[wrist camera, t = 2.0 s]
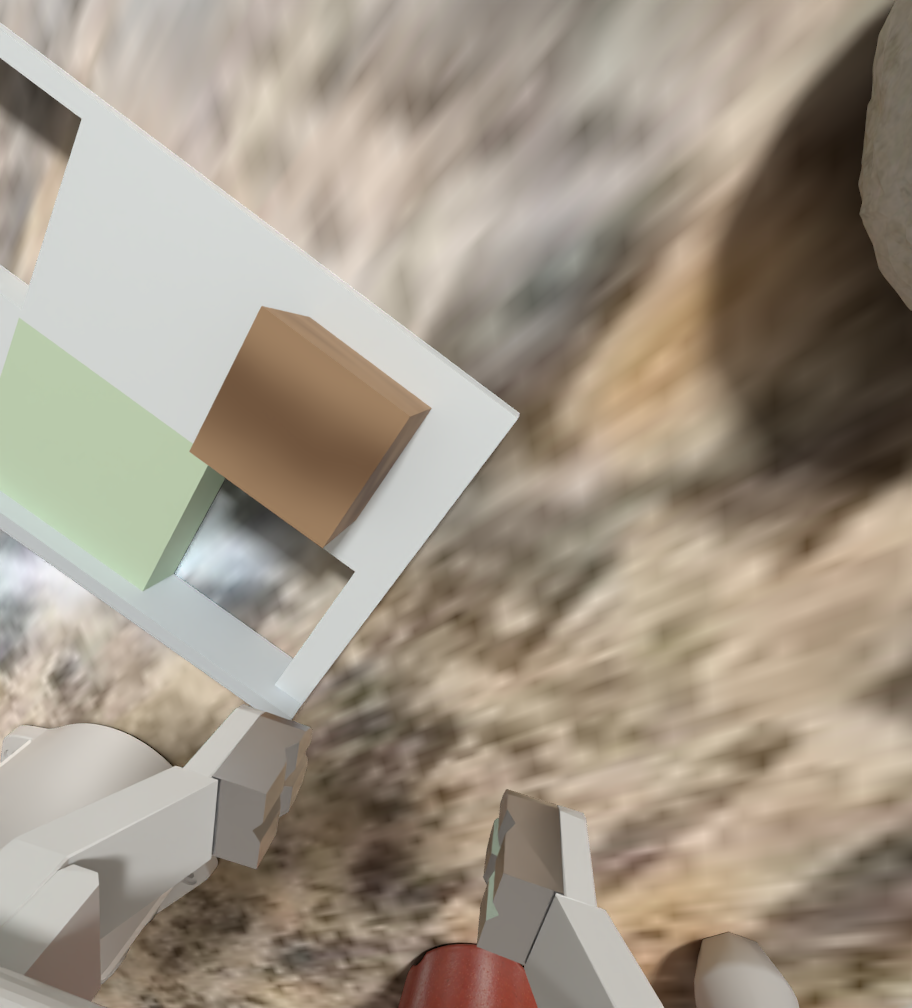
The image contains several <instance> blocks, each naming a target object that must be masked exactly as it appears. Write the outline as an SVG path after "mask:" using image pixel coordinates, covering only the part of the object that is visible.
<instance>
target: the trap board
mask: <svg viewBox="0 0 912 1008" xmlns="http://www.w3.org/2000/svg"><path fill="white" fill-rule="evenodd" d="M0 58H1V59H2V60H4V61H5V62H6V63H8V64H9V65H10V66H12V67H13V68H14V69H16V70H17V71H18V72H20V73H21V74H22V75H24V76H25V77H26V78H28V79H29V80H30V81H32V82H33V83H34V84H36V85H37V86H38V87H40V88H41V89H42V90H44V91H45V92H46V93H48V94H49V95H50V96H52V97H53V98H54V99H56V100H57V101H58V102H60V103H61V104H62V105H64V106H65V107H66V108H68V109H69V110H70V111H72V112H73V113H74V114H76V115H77V116H78V117H80V118H81V119H82V120H81V123H80V126H79V129H78V132H77V135H76V139H75V142H74V145H73V148H72V151H71V154H70V158H69V161H68V164H67V167H66V170H65V173H64V177H63V180H62V183H61V186H60V189H59V192H58V196H57V199H56V202H55V205H54V208H53V212H52V215H51V218H50V221H49V224H48V227H47V231H46V234H45V237H44V240H43V243H42V246H41V250H40V253H39V256H38V259H37V262H36V265H35V269H34V272H33V275H32V278H31V281H30V284H29V285H28V284H26V283H25V282H23V281H22V280H21V279H19V278H18V277H17V276H15V275H14V274H12V273H11V272H10V271H8V270H7V269H6V268H4V267H3V266H1V265H0V529H1V530H2V531H4V532H5V533H7V534H8V535H10V536H11V537H12V538H14V539H15V540H17V541H18V542H19V543H21V544H22V545H24V546H25V547H27V548H28V549H29V550H31V551H32V552H34V553H35V554H36V555H38V556H39V557H41V558H42V559H44V560H45V561H46V562H48V563H49V564H51V565H52V566H54V567H55V568H56V569H58V570H59V571H61V572H62V573H63V574H65V575H66V576H68V577H69V578H71V579H72V580H73V581H75V582H76V583H78V584H79V585H80V586H82V587H83V588H85V589H86V590H88V591H89V592H90V593H92V594H93V595H95V596H96V597H97V598H99V599H100V600H102V601H103V602H105V603H106V604H107V605H109V606H110V607H112V608H113V609H115V610H116V611H117V612H119V613H120V614H122V615H123V616H124V617H126V618H127V619H129V620H130V621H132V622H133V623H134V624H136V625H137V626H139V627H140V628H141V629H143V630H144V631H146V632H147V633H149V634H150V635H151V636H153V637H154V638H156V639H157V640H159V641H160V642H161V643H163V644H164V645H166V646H167V647H168V648H170V649H171V650H173V651H174V652H176V653H177V654H178V655H180V656H181V657H183V658H184V659H185V660H187V661H188V662H190V663H191V664H193V665H194V666H195V667H197V668H198V669H200V670H201V671H203V672H204V673H205V674H207V675H208V676H210V677H211V678H212V679H214V680H215V681H217V682H218V683H220V684H221V685H222V686H224V687H225V688H227V689H228V690H229V691H231V692H232V693H234V694H235V695H237V696H238V697H239V698H241V699H242V700H244V701H245V702H246V703H248V704H249V705H251V706H252V707H254V708H256V709H258V710H261V711H264V712H268V713H271V714H274V715H277V716H280V717H283V718H285V719H288V720H291V719H292V718H293V717H294V715H295V714H296V712H297V711H298V709H299V708H300V707H301V705H302V704H303V702H304V701H305V700H306V698H307V697H308V696H309V694H310V693H311V692H312V690H313V689H314V688H315V687H316V685H317V684H318V683H319V681H320V680H321V679H322V677H323V676H324V675H325V673H326V672H327V671H328V669H329V668H330V667H331V665H332V664H333V663H334V661H335V660H336V659H337V657H338V656H339V655H340V653H341V652H342V651H343V649H344V648H345V647H346V645H347V644H348V643H349V642H350V640H351V639H352V638H353V636H354V635H355V634H356V632H357V631H358V630H359V628H360V627H361V626H362V624H363V623H364V622H365V620H366V619H367V618H368V616H369V615H370V614H371V612H372V611H373V610H374V608H375V607H376V606H377V604H378V603H379V602H380V601H381V599H382V598H383V597H384V595H385V594H386V593H387V591H388V590H389V589H390V587H391V586H392V585H393V583H394V582H395V581H396V579H397V578H398V577H399V575H400V574H401V573H402V571H403V570H404V569H405V567H406V566H407V565H408V563H409V562H410V561H411V559H412V558H413V557H414V556H415V554H416V553H417V552H418V550H419V549H420V548H421V546H422V545H423V544H424V542H425V541H426V540H427V538H428V537H429V536H430V534H431V533H432V532H433V530H434V529H435V528H436V526H437V525H438V524H439V522H440V521H441V520H442V518H443V517H444V516H445V515H446V513H447V512H448V511H449V509H450V508H451V507H452V505H453V504H454V503H455V501H456V500H457V499H458V497H459V496H460V495H461V493H462V492H463V491H464V489H465V488H466V487H467V485H468V484H469V483H470V481H471V480H472V479H473V477H474V476H475V475H476V473H477V472H478V471H479V470H480V468H481V467H482V466H483V464H484V463H485V462H486V460H487V459H488V458H489V456H490V455H491V454H492V452H493V451H494V450H495V448H496V447H497V446H498V444H499V443H500V442H501V440H502V439H503V438H504V436H505V435H506V434H507V432H508V431H509V430H510V429H511V427H512V426H513V425H514V423H515V422H516V421H517V419H518V417H519V414H520V413H519V412H517V411H516V410H515V409H513V408H512V407H511V406H509V405H508V404H507V403H505V402H504V401H503V400H501V399H500V398H499V397H497V396H496V395H495V394H493V393H492V392H491V391H489V390H488V389H487V388H485V387H484V386H483V385H481V384H480V383H479V382H477V381H476V380H475V379H473V378H472V377H471V376H469V375H468V374H467V373H465V372H464V371H463V370H461V369H460V368H459V367H457V366H456V365H455V364H453V363H452V362H451V361H449V360H448V359H447V358H445V357H444V356H443V355H442V354H440V353H439V352H438V351H436V350H435V349H434V348H432V347H431V346H430V345H428V344H427V343H426V342H424V341H423V340H422V339H420V338H419V337H418V336H416V335H415V334H414V333H412V332H411V331H410V330H408V329H407V328H406V327H404V326H403V325H402V324H400V323H399V322H398V321H396V320H395V319H394V318H392V317H391V316H390V315H388V314H387V313H386V312H384V311H383V310H382V309H380V308H379V307H378V306H376V305H375V304H374V303H372V302H371V301H370V300H368V299H367V298H366V297H364V296H363V295H362V294H360V293H359V292H358V291H356V290H355V289H354V288H352V287H351V286H350V285H348V284H347V283H346V282H344V281H343V280H342V279H341V278H339V277H338V276H337V275H335V274H334V273H333V272H331V271H330V270H329V269H327V268H326V267H325V266H323V265H322V264H321V263H319V262H318V261H317V260H315V259H314V258H313V257H311V256H310V255H309V254H307V253H306V252H305V251H303V250H302V249H301V248H299V247H298V246H297V245H295V244H294V243H293V242H291V241H290V240H289V239H287V238H286V237H285V236H283V235H282V234H281V233H279V232H278V231H277V230H275V229H274V228H273V227H271V226H270V225H269V224H267V223H266V222H265V221H263V220H262V219H261V218H259V217H258V216H257V215H255V214H254V213H253V212H251V211H250V210H249V209H247V208H246V207H245V206H244V205H242V204H241V203H240V202H238V201H237V200H236V199H234V198H233V197H232V196H230V195H229V194H228V193H226V192H225V191H224V190H222V189H221V188H220V187H218V186H217V185H216V184H214V183H213V182H212V181H210V180H209V179H208V178H206V177H205V176H204V175H202V174H201V173H200V172H198V171H197V170H196V169H194V168H193V167H192V166H190V165H189V164H188V163H186V162H185V161H184V160H182V159H181V158H180V157H178V156H177V155H176V154H174V153H173V152H172V151H170V150H169V149H168V148H166V147H165V146H164V145H162V144H161V143H160V142H158V141H157V140H156V139H154V138H153V137H152V136H150V135H149V134H148V133H147V132H145V131H144V130H143V129H141V128H140V127H139V126H137V125H136V124H135V123H133V122H132V121H131V120H129V119H128V118H127V117H125V116H124V115H123V114H121V113H120V112H119V111H117V110H116V109H115V108H113V107H112V106H111V105H109V104H108V103H107V102H105V101H104V100H103V99H101V98H100V97H99V96H97V95H96V94H95V93H93V92H92V91H91V90H89V89H88V88H87V87H85V86H84V85H83V84H81V83H80V82H79V81H77V80H76V79H75V78H73V77H72V76H71V75H69V74H68V73H67V72H65V71H64V70H63V69H61V68H60V67H59V66H57V65H56V64H55V63H53V62H52V61H51V60H49V59H48V58H47V57H46V56H44V55H43V54H42V53H40V52H39V51H38V50H36V49H35V48H34V47H32V46H31V45H30V44H28V43H27V42H26V41H24V40H23V39H22V38H20V37H19V36H18V35H16V34H15V33H14V32H12V31H11V30H10V29H8V28H7V27H6V26H4V25H3V24H2V23H0ZM261 306H264V307H269V308H273V309H277V310H282V311H286V312H290V313H295V314H299V315H303V316H308V317H310V318H312V319H313V320H314V321H316V322H317V323H318V324H320V325H321V326H322V327H324V328H325V329H326V330H328V331H329V332H330V333H332V334H333V335H335V336H336V337H337V338H339V339H340V340H341V341H343V342H344V343H345V344H347V345H348V346H349V347H351V348H352V349H353V350H355V351H356V352H357V353H359V354H360V355H361V356H363V357H364V358H365V359H367V360H368V361H369V362H371V363H372V364H373V365H375V366H376V367H377V368H379V369H380V370H381V371H383V372H384V373H385V374H387V375H388V376H389V377H391V378H392V379H393V380H395V381H396V382H397V383H399V384H400V385H401V386H403V387H404V388H405V389H407V390H408V391H410V392H411V393H412V394H414V395H415V396H416V397H418V398H419V399H420V400H422V401H423V402H424V403H426V404H427V405H428V406H430V407H431V408H432V409H431V410H430V412H429V413H428V415H427V416H426V418H425V419H424V421H423V422H422V424H421V425H420V426H419V428H418V429H417V431H416V432H415V434H414V435H413V437H412V438H411V440H410V441H409V443H408V444H407V446H406V447H405V449H404V450H403V452H402V453H401V454H400V456H399V457H398V459H397V460H396V462H395V463H394V465H393V466H392V468H391V469H390V471H389V472H388V474H387V475H386V477H385V478H384V480H383V481H382V483H381V484H380V485H379V487H378V488H377V490H376V491H375V493H374V494H373V496H372V497H371V499H370V500H369V502H368V503H367V505H366V506H365V508H364V509H363V511H362V512H361V513H360V515H359V516H358V518H357V519H356V520H355V521H354V522H353V523H352V524H351V525H350V526H348V527H347V528H346V529H345V530H344V531H342V532H341V533H340V534H339V535H338V536H337V537H335V538H334V539H333V540H332V541H331V542H330V543H328V544H327V545H326V546H325V547H324V548H323V549H325V550H326V551H327V552H329V553H330V554H331V555H333V556H334V557H336V558H337V559H338V560H340V561H341V562H342V563H344V564H345V565H347V566H348V567H349V568H351V569H352V570H353V571H355V573H354V574H353V575H352V577H351V578H350V580H349V581H348V583H347V584H346V585H345V587H344V588H343V590H342V591H341V592H340V594H339V595H338V597H337V598H336V599H335V601H334V602H333V604H332V605H331V606H330V608H329V609H328V611H327V612H326V613H325V615H324V616H323V618H322V619H321V620H320V622H319V623H318V625H317V626H316V628H315V629H314V630H313V632H312V633H311V635H310V636H309V637H308V639H307V640H306V642H305V643H304V644H303V646H302V647H301V649H300V650H299V651H298V653H297V654H296V656H295V657H294V658H291V657H290V656H289V655H287V654H286V653H284V652H283V651H282V650H280V649H279V648H277V647H276V646H275V645H273V644H272V643H270V642H269V641H268V640H266V639H265V638H263V637H262V636H261V635H259V634H258V633H256V632H255V631H254V630H252V629H251V628H249V627H248V626H247V625H245V624H244V623H242V622H241V621H239V620H238V619H237V618H235V617H234V616H232V615H231V614H230V613H228V612H227V611H225V610H224V609H223V608H221V607H220V606H218V605H217V604H216V603H214V602H213V601H211V600H210V599H209V598H207V597H206V596H204V595H203V594H202V593H200V592H199V591H197V590H196V589H195V588H193V587H192V586H190V585H189V584H188V583H186V582H185V581H183V580H182V579H181V578H179V577H178V576H176V575H175V574H174V572H175V571H176V569H177V567H178V565H179V563H180V561H181V560H182V558H183V556H184V554H185V552H186V550H187V548H188V547H189V545H190V543H191V541H192V539H193V537H194V535H195V534H196V532H197V530H198V528H199V526H200V524H201V522H202V521H203V519H204V517H205V515H206V513H207V511H208V509H209V508H210V506H211V504H212V502H213V500H214V498H215V496H216V495H217V493H218V491H219V489H220V487H221V485H222V484H223V482H224V480H225V477H223V476H222V475H221V474H219V473H218V472H217V471H215V470H214V469H212V468H211V467H210V466H208V465H207V464H205V463H204V462H203V461H201V460H200V459H199V458H197V457H196V456H194V455H193V454H192V453H190V452H189V451H190V449H191V447H192V445H193V443H194V441H195V439H196V437H197V435H198V433H199V431H200V429H201V427H202V425H203V423H204V421H205V419H206V417H207V415H208V413H209V411H210V409H211V407H212V405H213V403H214V401H215V399H216V397H217V395H218V393H219V391H220V389H221V387H222V385H223V383H224V380H225V378H226V376H227V374H228V372H229V370H230V368H231V366H232V364H233V362H234V360H235V358H236V356H237V354H238V352H239V350H240V348H241V346H242V344H243V342H244V340H245V338H246V336H247V334H248V332H249V330H250V328H251V326H252V324H253V322H254V320H255V318H256V316H257V314H258V312H259V310H260V308H261Z"/></svg>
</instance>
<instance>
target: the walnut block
mask: <svg viewBox="0 0 912 1008" xmlns="http://www.w3.org/2000/svg"><path fill="white" fill-rule="evenodd" d="M431 409H432V408H431V407H430V406H428V405H427V404H426V403H424V402H423V401H422V400H420V399H419V398H418V397H416V396H415V395H414V394H412V393H411V392H410V391H408V390H407V389H405V388H404V387H403V386H401V385H400V384H399V383H397V382H396V381H395V380H393V379H392V378H391V377H389V376H388V375H387V374H385V373H384V372H383V371H381V370H380V369H379V368H377V367H376V366H375V365H373V364H372V363H371V362H369V361H368V360H367V359H365V358H364V357H363V356H361V355H360V354H359V353H357V352H356V351H355V350H353V349H352V348H351V347H349V346H348V345H347V344H345V343H344V342H343V341H341V340H340V339H339V338H337V337H336V336H335V335H333V334H332V333H330V332H329V331H328V330H326V329H325V328H324V327H322V326H321V325H320V324H318V323H317V322H316V321H314V320H313V319H312V318H310V317H308V316H303V315H299V314H295V313H290V312H286V311H282V310H277V309H273V308H269V307H264V306H261V308H260V310H259V312H258V314H257V316H256V318H255V320H254V322H253V324H252V326H251V328H250V330H249V332H248V334H247V336H246V338H245V340H244V342H243V344H242V346H241V348H240V350H239V352H238V354H237V356H236V358H235V360H234V362H233V364H232V366H231V368H230V370H229V372H228V374H227V376H226V378H225V380H224V383H223V385H222V387H221V389H220V391H219V393H218V395H217V397H216V399H215V401H214V403H213V405H212V407H211V409H210V411H209V413H208V415H207V417H206V419H205V421H204V423H203V425H202V427H201V429H200V431H199V433H198V435H197V437H196V439H195V441H194V443H193V445H192V447H191V449H190V451H189V452H190V453H192V454H193V455H194V456H196V457H197V458H199V459H200V460H201V461H203V462H204V463H205V464H207V465H208V466H210V467H211V468H212V469H214V470H215V471H217V472H218V473H219V474H221V475H222V476H223V477H225V478H226V479H228V480H229V481H230V482H232V483H233V484H234V485H236V486H237V487H239V488H240V489H241V490H243V491H244V492H245V493H247V494H248V495H250V496H251V497H252V498H254V499H255V500H257V501H258V502H259V503H261V504H262V505H263V506H265V507H266V508H268V509H269V510H270V511H272V512H273V513H274V514H276V515H277V516H279V517H280V518H281V519H283V520H284V521H285V522H287V523H288V524H290V525H291V526H292V527H294V528H295V529H297V530H298V531H299V532H301V533H302V534H303V535H305V536H306V537H308V538H309V539H310V540H312V541H313V542H314V543H316V544H317V545H319V546H320V547H321V548H324V547H325V546H326V545H327V544H328V543H330V542H331V541H332V540H333V539H334V538H335V537H337V536H338V535H339V534H340V533H341V532H342V531H344V530H345V529H346V528H347V527H348V526H350V525H351V524H352V523H353V522H354V521H355V520H356V519H357V518H358V516H359V515H360V513H361V512H362V511H363V509H364V508H365V506H366V505H367V503H368V502H369V500H370V499H371V497H372V496H373V494H374V493H375V491H376V490H377V488H378V487H379V485H380V484H381V483H382V481H383V480H384V478H385V477H386V475H387V474H388V472H389V471H390V469H391V468H392V466H393V465H394V463H395V462H396V460H397V459H398V457H399V456H400V454H401V453H402V452H403V450H404V449H405V447H406V446H407V444H408V443H409V441H410V440H411V438H412V437H413V435H414V434H415V432H416V431H417V429H418V428H419V426H420V425H421V424H422V422H423V421H424V419H425V418H426V416H427V415H428V413H429V412H430V410H431Z"/></svg>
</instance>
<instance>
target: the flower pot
mask: <svg viewBox="0 0 912 1008" xmlns="http://www.w3.org/2000/svg"><path fill="white" fill-rule="evenodd" d="M398 1008H538V1007H537V1004H536V1001H535V998H534V996H533V993H532V990H531V987H530V984H529V981H528V979H527V976H526V973H525V970H524V968H523V967H522V966H521V965H520V963H517V962H515V961H512V960H510V959H507V958H505V957H502V956H499V955H497V954H494V953H492V952H489V951H486V950H484V949H481V948H479V947H477V945H475V944H454V945H446V946H442V947H438V948H435V949H433V950H431V951H428V952H427V953H426V954H425V956H424V957H423V959H422V961H421V962H420V963H419V964H418V965H413V966H412V967H411V968H410V970H409V972H408V975H407V978H406V981H405V985H404V989H403V992H402V996H401V999H400V1003H399V1006H398Z"/></svg>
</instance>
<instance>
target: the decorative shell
mask: <svg viewBox="0 0 912 1008" xmlns="http://www.w3.org/2000/svg"><path fill="white" fill-rule="evenodd" d="M861 164H862V169H861V173H860V178H859V182H858V186H859V190H860V194H861V198H862V206H861V209H860V213H859V214H860V216H861V218H862V220H863V225H864V227H865V229H866V231H867V233H868V236H869V238H870V240H871V242H872V244H873V247H874V251H875V256H876V260H877V264H878V268H879V270H880V271H881V273H882V274H883V276H884V277H885V279H886V280H887V281H888V282H889V284H890V285H891V286H892V287H893V288H894V290H895V291H896V292H897V293H898V295H899V296H900V297H901V299H902V300H903V302H904V303H905V305H906V306H907V307H908V308H909V309H910V310H911V311H912V0H896V1H895V3H894V5H893V7H892V9H891V11H890V13H889V15H888V17H887V19H886V21H885V24H884V25H883V27H882V29H881V31H880V33H879V36H878V43H877V48H876V53H875V57H874V62H873V85H872V98H871V100H870V102H869V104H868V107H867V116H866V126H865V137H864V148H863V155H862V162H861Z"/></svg>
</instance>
